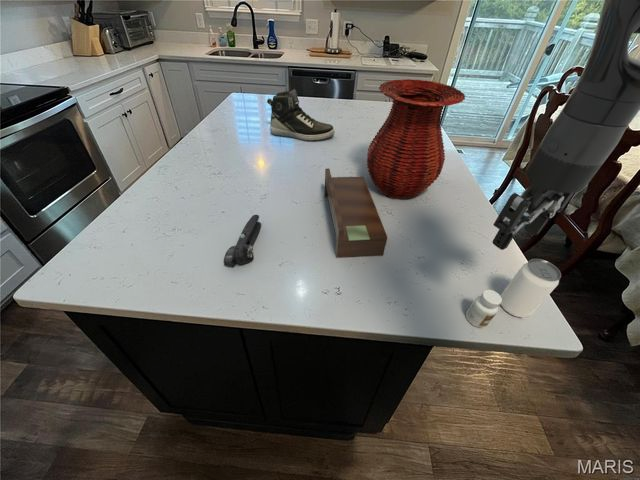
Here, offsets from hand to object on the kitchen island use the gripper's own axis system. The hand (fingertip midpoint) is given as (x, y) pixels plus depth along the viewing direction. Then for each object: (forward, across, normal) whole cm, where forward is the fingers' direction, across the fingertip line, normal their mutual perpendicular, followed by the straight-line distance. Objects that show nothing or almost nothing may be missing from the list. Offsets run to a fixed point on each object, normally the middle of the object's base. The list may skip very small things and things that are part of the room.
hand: (514, 238), depth 51 cm
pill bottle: (+20, -2, -3) cm, 20 cm away
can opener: (+20, -38, +39) cm, 58 cm away
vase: (+20, +15, +45) cm, 51 cm away
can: (+20, +8, -4) cm, 22 cm away
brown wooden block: (+20, -9, +36) cm, 42 cm away
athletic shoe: (+19, +3, +95) cm, 97 cm away
